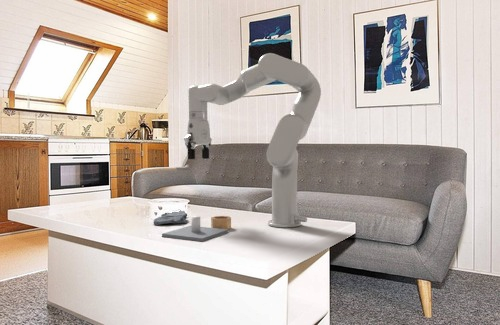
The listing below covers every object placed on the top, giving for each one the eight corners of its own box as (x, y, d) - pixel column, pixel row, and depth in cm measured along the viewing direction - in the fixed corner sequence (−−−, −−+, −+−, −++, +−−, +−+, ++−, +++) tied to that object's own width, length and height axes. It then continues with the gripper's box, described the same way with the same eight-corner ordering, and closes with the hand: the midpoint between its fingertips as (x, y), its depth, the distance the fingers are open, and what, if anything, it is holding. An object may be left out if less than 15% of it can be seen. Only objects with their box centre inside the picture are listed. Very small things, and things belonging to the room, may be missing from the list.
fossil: (152, 227, 152) (152, 216, 152) (157, 219, 169) (157, 209, 169) (186, 226, 154) (186, 216, 153) (187, 218, 171) (187, 208, 171)
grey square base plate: (228, 232, 140) (228, 215, 140) (202, 241, 126) (202, 222, 125) (190, 228, 147) (190, 212, 147) (162, 236, 133) (161, 218, 133)
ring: (233, 227, 148) (233, 216, 148) (224, 230, 142) (224, 219, 142) (218, 226, 152) (218, 215, 152) (208, 229, 146) (208, 218, 145)
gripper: (192, 114, 154) (193, 159, 154) (217, 117, 169) (218, 158, 170) (177, 115, 158) (177, 159, 158) (203, 118, 173) (203, 158, 173)
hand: (198, 158), depth 164 cm, fingers open, 9 cm apart
